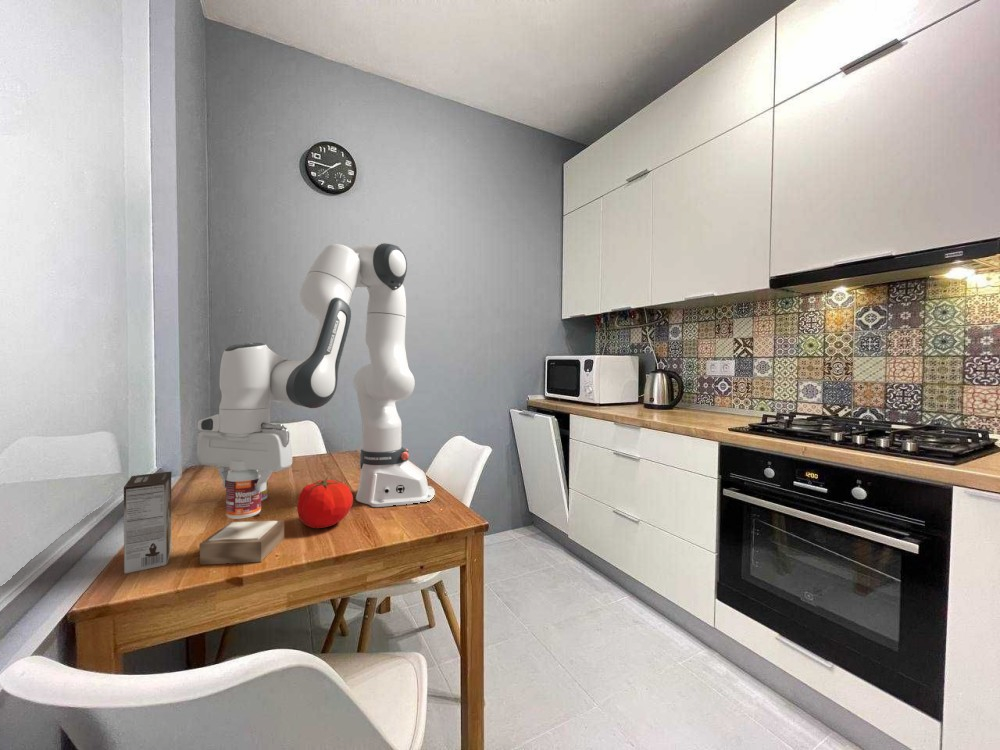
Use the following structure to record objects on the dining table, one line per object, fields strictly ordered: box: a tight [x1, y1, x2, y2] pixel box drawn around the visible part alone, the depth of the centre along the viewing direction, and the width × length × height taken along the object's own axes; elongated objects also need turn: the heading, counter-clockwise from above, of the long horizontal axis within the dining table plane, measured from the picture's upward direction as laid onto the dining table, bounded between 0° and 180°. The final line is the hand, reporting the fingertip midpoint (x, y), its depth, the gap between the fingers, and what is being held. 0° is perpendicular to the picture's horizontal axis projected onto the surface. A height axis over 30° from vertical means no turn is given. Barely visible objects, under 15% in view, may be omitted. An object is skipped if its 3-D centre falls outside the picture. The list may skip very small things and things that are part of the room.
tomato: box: [296, 476, 354, 529], centre depth 98 cm, size 13×12×11 cm
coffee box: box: [123, 470, 173, 574], centre depth 79 cm, size 9×6×16 cm
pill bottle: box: [225, 460, 262, 520], centre depth 83 cm, size 6×6×11 cm
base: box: [199, 520, 285, 566], centre depth 84 cm, size 11×11×4 cm
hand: (244, 489), depth 84 cm, fingers closed on pill bottle, 6 cm apart
